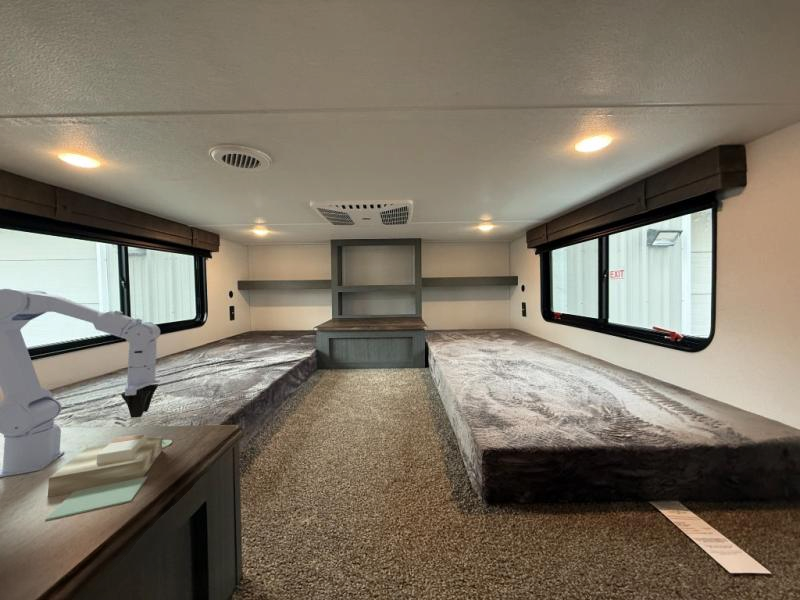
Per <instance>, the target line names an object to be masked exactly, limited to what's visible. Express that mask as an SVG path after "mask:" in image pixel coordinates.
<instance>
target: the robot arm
mask: <svg viewBox="0 0 800 600" xmlns="http://www.w3.org/2000/svg"><path fill="white" fill-rule="evenodd" d="M53 312H54V313H56V314H60V315H64V316H66V317H71V318H74V319H77V320H81V321H84V322H86V323H87V322H88V323H92V324H93V327H94V329H95V330H97V331H100V332H103V333H104V334H105V333H106V334H109V335H111V336H115V337H118V338H121V339H125V341H127V343H128V344H129V346H128V347H129V349H128V357H127V358H128V361H127V362H128V363H127V379H126V383H125V386H126V387H125V388H124V392H122V393H121V398H122V399H123V400H124V402H125V404H126V405H127V409H128V413H129V416H130V418H131V419H134V418H141V417H142V416H143V414H144V413H146V412H148V411H149V408H150V405H151V402H152V400H153V399H152V398H153V396H154V394H155V392H156V390H157V388H158V387H159V383H160V382H161V379H159V378H158V379H157V378H156V369H157V365H156V363H157V342H158V341H157V339H158V338H160V335H161V329H160V327H159V326H158V325H157V324H155V323H153V322H151V321H150V322H147V321H146V322H143V319H142V318H136V319H135V318H133V317H130V316H128V315H125V314H124V311H121V310H114V311H113V310H108V311H107V310H106V311H104V312H101V311H98V310H96V309H94V308H91V307H88V306H86V305H83V304H81V303H79V302H75V301H72V300H70V299H67V298H65V297H62V296H59V295H57V294H52V293H47V292H45V291H42V290H23V289H21V290H20V289H15V288H14V289H13V288H2V289H0V389H1V392H2V394H3V397H4V399H3V400H2V401H1V402H0V434H1V435H3V438H4V443H3V458H2V468H1V469H0V478H2V477H8V476H9V477H10V476H15V475H20V474H27V473H31V472H37V471H40V470H43V469H44V468H45V467H47V466H48V465H49V464H50V463H52V462H54V461H55V460H56V459H58V458H59V457H60V456H61V455H63V454H64V453H65V450H60V449H61V437H62V436H61V434H62V430H61V427H60V425H58V424H56V423H55V419H56V418H57V417H58V416H59V415H60V414H61V411H62V403H61V402H60V401H59V400H57V399H56V398H55V397H54V396H53V394H52V391H50V390H47V389H46V388H44V387H42V386H41V384H40V381H39V378H38V376H37V373H36V369H35V367H34V364H33V361H32V359H31V356H30V353H29V350H28V347H27V345H26V343H25V340H24V337H23V334H22V332H21V329H23V328H24V327H25V326H26V325H27V324H28V323H30V321H32V320H34V319H36V318H38V317H40V316H42V315H44V314H46V313H53Z"/></svg>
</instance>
